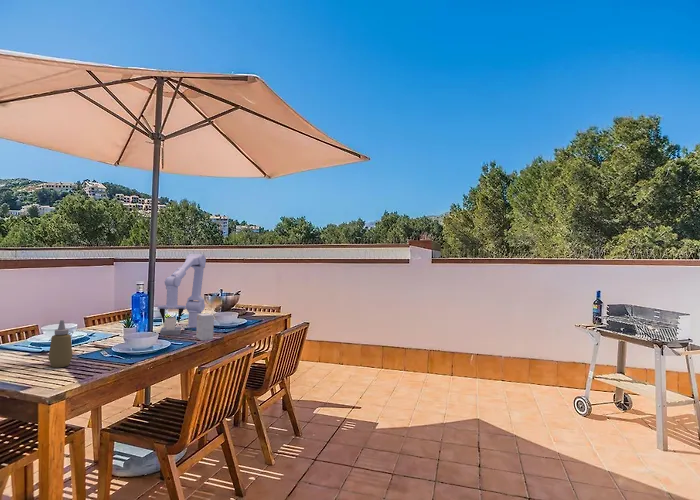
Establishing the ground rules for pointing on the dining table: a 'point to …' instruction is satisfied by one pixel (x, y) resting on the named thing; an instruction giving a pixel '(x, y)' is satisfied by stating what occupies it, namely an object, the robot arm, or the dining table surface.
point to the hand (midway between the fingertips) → (171, 322)
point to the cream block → (171, 323)
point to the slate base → (170, 331)
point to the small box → (205, 326)
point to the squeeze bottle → (60, 347)
